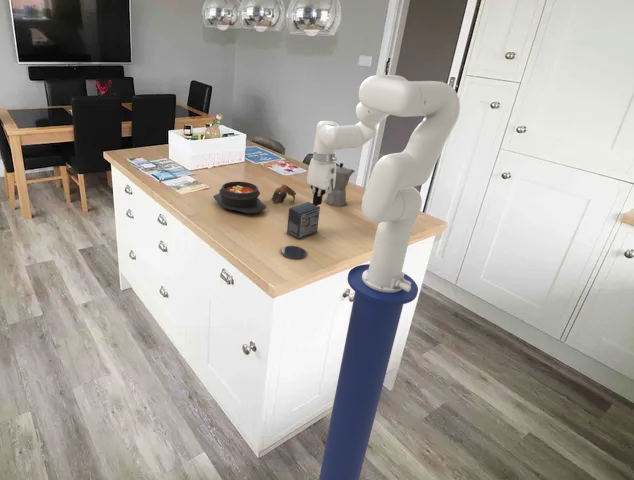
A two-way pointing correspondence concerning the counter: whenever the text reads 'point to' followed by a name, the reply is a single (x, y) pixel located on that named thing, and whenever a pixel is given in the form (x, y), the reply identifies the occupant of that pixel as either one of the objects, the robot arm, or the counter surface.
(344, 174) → the coffeepot
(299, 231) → the small box
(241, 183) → the casserole
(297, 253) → the slate coaster
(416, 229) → the counter surface
